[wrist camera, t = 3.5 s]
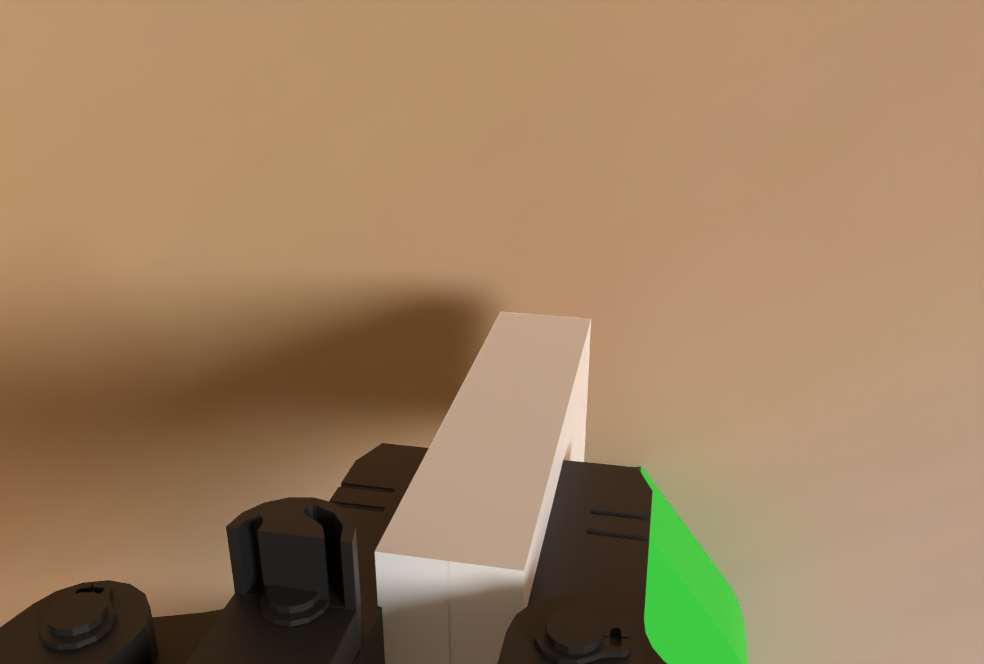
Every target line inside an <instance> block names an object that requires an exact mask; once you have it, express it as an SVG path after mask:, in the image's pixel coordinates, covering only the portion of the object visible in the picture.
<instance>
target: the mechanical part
mask: <svg viewBox="0 0 984 664" xmlns="http://www.w3.org/2000/svg"><path fill="white" fill-rule="evenodd" d="M638 469H639V470H640V472H641V473H642V475H643V477H644V478H645V480H646V481H647V483H648V485H649V486H650V488H651V489H652V491H653V492H652V507H651V522H650V537H649V552H648V567H647V582H646V597H645V612H644V623H645V632H646V635H647V637H648V639H649V641H650V643H651V645H652V647H653V648H654V650H655V651H656V652H657V653H658V654H659V656H660V657H661V658H662V659H663V660H664V661H665V662H666V663H667V664H748V660H747V647H746V635H745V624H744V620H743V615H742V612H741V609H740V606H739V603H738V601H737V599H736V597H735V595H734V593H733V591H732V589H731V587H730V586H729V584H728V583H727V581H726V580H725V578H724V577H723V575H722V574H721V573H720V571H719V570H718V569H717V567H716V566H715V565H714V563H713V562H712V561H711V559H710V558H709V557H708V555H707V554H706V552H705V551H704V550H703V548H702V547H701V546H700V544H699V543H698V542H697V540H696V539H695V538H694V536H693V535H692V534H691V532H690V531H689V530H688V528H687V527H686V526H685V524H684V523H683V522H682V520H681V519H680V518H679V516H678V515H677V513H676V512H675V511H674V509H673V508H672V507H671V505H670V504H669V503H668V501H667V500H666V499H665V497H664V496H663V495H662V493H661V492H660V491H659V489H658V488H657V487H656V485H655V484H654V483H653V481H652V480H651V479H650V477H649V476H648V475H647V473H646V472H645V470H644V469H643V468H642V466H641V467H639V468H638Z"/></svg>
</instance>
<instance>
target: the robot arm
mask: <svg viewBox="0 0 984 664" xmlns="http://www.w3.org/2000/svg"><path fill="white" fill-rule="evenodd" d="M590 331H591V318H579V317H566V316H554V315H541V314H528V313H515V312H502V311H500V313H499V315H498V317H497V319H496V321H495V323H494V325H493V326H492V328H491V330H490V332H489V334H488V336H487V338H486V340H485V342H484V344H483V346H482V347H481V349H480V351H479V353H478V355H477V357H476V359H475V361H474V363H473V365H472V367H471V368H470V370H469V372H468V374H467V376H466V378H465V380H464V382H463V384H462V386H461V388H460V389H459V391H458V393H457V395H456V397H455V399H454V401H453V403H452V405H451V407H450V409H449V410H448V412H447V414H446V416H445V418H444V420H443V422H442V424H441V426H440V428H439V430H438V431H437V433H436V435H435V437H434V439H433V441H432V443H431V445H430V447H429V448H422V447H413V446H404V445H394V444H385V443H382V444H381V445H379V446H377V447H376V448H374V449H373V450H371V451H370V452H368V453H367V454H365V455H364V456H362V457H361V458H359V459H358V460H356V461H355V463H354V464H353V466H352V467H351V469H350V470H349V472H348V473H347V475H346V476H345V478H344V480H343V481H342V483H341V487H338V489H337V490H336V492H335V493H334V495H333V496H332V498H331V499H330V502H329V501H325V500H321V499H317V498H284V499H280V500H275V501H270V502H266V503H263V504H260V505H258V506H256V507H254V508H252V509H249V510H247V511H245V512H243V513H241V514H240V515H239V516H238V517H237V518H236V519H234V520H233V521H232V522H231V523H230V524H229V525H227V526H226V529H227V536H228V544H229V551H230V559H231V566H232V573H233V581H234V588H235V594H234V595H233V597H232V598H231V600H230V601H229V603H228V604H227V605H226V607H225V608H224V609H222V610H216V611H210V612H204V613H195V614H185V615H174V616H164V617H153V618H152V615H151V609H150V606H149V603H148V601H147V598H146V595H145V594H144V593H143V592H141V591H140V590H138V589H137V588H135V587H134V586H132V585H131V584H126V583H120V582H115V581H109V580H108V581H97V582H86V583H81V584H78V585H74V586H71V587H68V588H65V589H62V590H58V591H56V592H54V593H52V594H50V595H49V596H47V597H45V598H43V599H41V600H40V601H38V602H36V603H34V604H32V605H31V606H30V607H28V608H27V609H25V610H24V611H23V612H21V613H20V614H18V615H17V616H16V617H14V618H13V619H11V620H10V621H9V622H7V623H6V624H4V625H3V626H2V627H0V664H667V663H666V662H665V661H664V660H663V659H662V658H661V657H660V656H659V654H658V653H657V652H656V651H655V650H654V648H653V647H652V645H651V643H650V641H649V639H648V637H647V635H646V632H645V623H644V612H645V597H646V582H647V567H648V552H649V537H650V522H651V507H652V492H653V491H652V489H651V488H650V486H649V485H648V483H647V481H646V480H645V478H644V477H643V475H642V473H641V472H640V470H639V469H638V468H634V467H625V466H616V465H606V464H597V463H587V462H584V451H585V431H586V411H587V391H588V371H589V351H590Z"/></svg>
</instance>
